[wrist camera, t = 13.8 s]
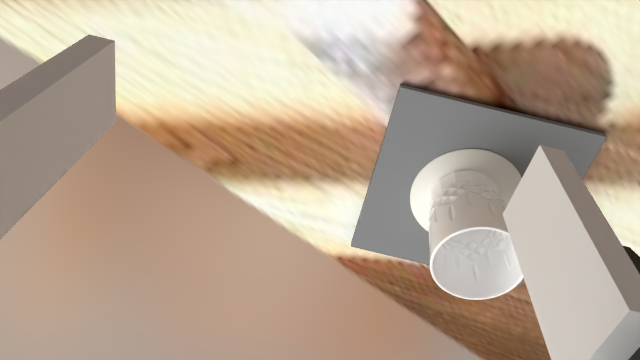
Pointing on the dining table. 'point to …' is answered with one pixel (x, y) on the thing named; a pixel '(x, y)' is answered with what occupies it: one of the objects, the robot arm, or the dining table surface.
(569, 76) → the dining table surface
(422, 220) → the mat
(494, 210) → the white cup
